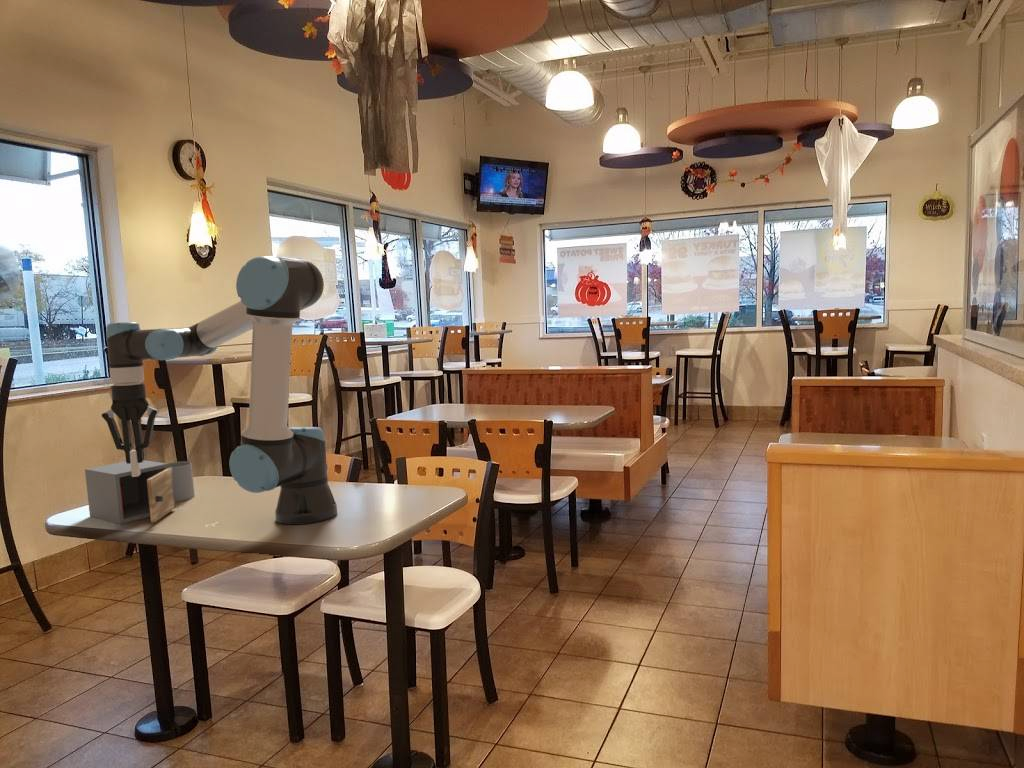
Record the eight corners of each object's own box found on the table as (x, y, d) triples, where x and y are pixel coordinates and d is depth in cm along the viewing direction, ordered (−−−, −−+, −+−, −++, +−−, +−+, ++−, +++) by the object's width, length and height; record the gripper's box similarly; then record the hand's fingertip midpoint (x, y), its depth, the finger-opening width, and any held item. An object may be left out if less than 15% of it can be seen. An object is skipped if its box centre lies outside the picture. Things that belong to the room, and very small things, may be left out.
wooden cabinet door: (181, 506, 199) (177, 467, 198) (160, 521, 185) (156, 479, 184) (171, 507, 199) (167, 467, 197) (150, 522, 184) (146, 479, 183)
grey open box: (172, 510, 199) (167, 463, 197) (120, 524, 187) (114, 474, 186) (141, 503, 208) (136, 459, 206) (89, 516, 196) (84, 469, 195)
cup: (200, 495, 215) (197, 462, 214) (177, 502, 207) (174, 468, 206) (180, 493, 218) (176, 460, 217) (156, 500, 211) (153, 466, 210)
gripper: (159, 380, 189) (166, 470, 192) (103, 383, 186) (112, 474, 188) (152, 383, 182) (161, 476, 184) (94, 386, 179) (103, 481, 181)
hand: (136, 475), depth 186 cm, fingers closed
